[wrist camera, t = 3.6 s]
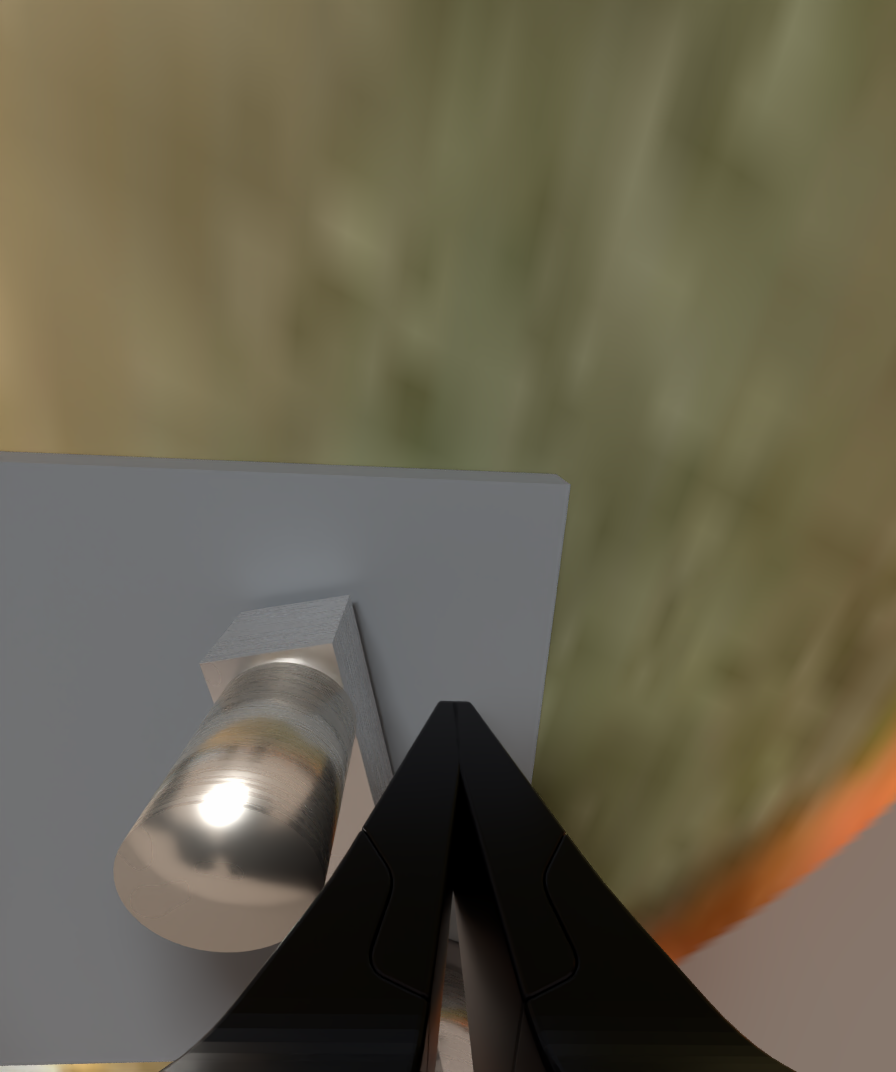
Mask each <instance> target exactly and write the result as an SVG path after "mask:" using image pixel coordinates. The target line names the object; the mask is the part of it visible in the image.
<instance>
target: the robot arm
mask: <svg viewBox="0 0 896 1072" xmlns="http://www.w3.org/2000/svg"><path fill="white" fill-rule="evenodd" d="M453 893H454V902H455V911H456V920H457V929H458V938H459V947H460V956H461V965H462V974H463V983H464V992H465V1000H466V1009H467V1018H468V1027H469V1036H470V1045H471V1054H472V1063H473V1072H796V1071H794V1070H792V1069H791V1068H789V1067H787V1066H785V1065H784V1064H782V1063H780V1062H779V1061H777V1060H775V1059H773V1058H772V1057H771V1056H769V1055H768V1054H767V1053H765V1052H764V1051H762V1050H761V1049H760V1048H758V1047H757V1046H756V1045H754V1044H753V1043H752V1042H751V1041H750V1040H748V1039H747V1038H746V1037H745V1036H744V1035H742V1034H741V1033H740V1032H739V1031H738V1030H737V1029H736V1028H735V1027H734V1026H733V1025H732V1024H731V1023H730V1022H728V1021H727V1020H726V1019H725V1018H724V1017H723V1016H722V1015H721V1014H720V1012H718V1010H717V1009H716V1008H715V1007H714V1006H713V1005H712V1004H711V1003H710V1002H709V1001H708V1000H707V999H706V997H705V996H704V995H703V994H702V993H701V992H700V991H699V990H698V989H697V987H696V986H695V985H694V984H693V983H692V982H691V981H690V980H689V978H687V976H686V975H685V974H684V973H683V972H682V971H681V970H680V968H679V967H678V966H677V965H676V964H675V963H674V962H673V961H672V959H671V958H670V957H669V956H668V955H667V954H666V953H665V952H664V951H663V949H662V948H661V947H660V946H659V945H658V944H657V943H656V942H655V940H654V939H653V938H652V937H651V936H650V935H649V934H648V933H647V932H646V930H645V929H644V928H643V927H642V926H641V925H640V924H639V923H638V921H637V920H636V919H635V918H634V917H633V916H632V915H631V914H630V912H629V911H628V910H627V909H626V908H625V907H624V905H623V904H622V903H621V902H620V901H619V900H618V898H617V897H616V896H615V895H614V894H613V893H612V891H611V890H610V889H609V888H608V887H607V886H606V884H605V883H604V882H603V881H602V879H601V878H600V877H599V875H598V874H597V873H596V872H595V870H594V869H593V868H592V866H591V865H590V864H589V863H588V861H587V860H586V859H585V857H584V856H583V855H582V853H581V852H580V851H579V849H578V848H577V847H576V845H575V844H574V842H573V841H572V840H571V838H570V837H569V836H568V835H565V830H564V829H563V828H562V826H561V825H560V824H559V822H558V821H557V819H556V818H555V817H554V815H553V814H552V813H551V811H550V810H549V809H548V807H547V806H546V804H545V803H544V802H543V800H542V799H541V798H540V796H539V795H538V793H537V792H536V791H535V789H534V788H533V787H532V785H531V784H530V783H529V781H528V780H527V778H526V777H525V776H524V774H523V773H522V772H521V770H520V769H519V767H518V766H517V765H516V763H515V762H514V761H513V759H512V758H511V757H510V755H509V754H508V752H507V751H506V750H505V748H504V747H503V746H502V744H501V743H500V741H499V740H498V739H497V737H496V736H495V735H494V733H493V732H492V731H491V729H490V728H489V726H488V725H487V724H486V722H485V721H484V720H483V718H482V717H481V716H480V714H479V713H478V711H477V710H476V709H475V707H474V706H473V705H472V703H471V702H469V701H439V702H438V703H437V705H436V707H435V708H434V710H433V712H432V713H431V715H430V716H429V718H428V720H427V721H426V723H425V725H424V726H423V728H422V730H421V731H420V733H419V735H418V736H417V738H416V740H415V741H414V743H413V744H412V746H411V748H410V749H409V751H408V753H407V754H406V756H405V758H404V759H403V761H402V763H401V764H400V766H399V768H398V769H397V771H396V772H395V774H394V776H393V777H392V779H391V781H390V782H389V784H388V786H387V787H386V789H385V791H384V792H383V794H382V796H381V797H380V799H379V800H378V802H377V804H376V805H375V807H374V809H373V810H372V812H371V814H370V815H369V817H368V819H367V820H366V822H365V824H364V825H363V827H362V831H360V832H359V833H358V835H357V836H356V838H355V840H354V841H353V843H352V845H351V846H350V848H349V850H348V851H347V853H346V854H345V856H344V857H343V859H342V860H341V862H340V863H339V865H338V866H337V868H336V869H335V871H334V873H333V874H332V876H331V877H330V879H329V880H328V881H327V883H326V884H325V886H324V887H323V888H322V890H321V891H320V892H319V894H318V895H317V896H316V898H315V899H314V900H313V902H312V903H311V904H310V906H309V907H308V908H307V910H306V911H305V912H304V914H303V915H302V916H301V918H300V919H299V920H298V921H297V923H296V924H295V925H294V927H293V928H292V929H291V930H290V932H289V933H288V934H287V935H286V937H285V938H284V939H283V941H282V942H281V943H280V944H279V946H278V947H277V948H276V950H275V951H274V952H273V953H272V955H271V956H270V957H269V958H268V960H267V961H266V962H265V964H264V965H263V966H262V967H261V969H260V970H259V971H258V973H257V974H256V975H255V976H254V978H253V979H252V980H251V982H250V983H249V984H248V985H247V987H246V988H245V989H244V990H243V992H242V993H241V994H240V996H239V997H238V998H237V999H236V1001H235V1002H234V1003H233V1004H232V1006H231V1007H230V1008H229V1009H228V1010H227V1012H226V1013H225V1014H224V1015H223V1016H222V1018H221V1019H220V1020H219V1021H218V1022H217V1023H216V1024H215V1025H214V1026H213V1027H212V1029H210V1030H209V1031H208V1032H207V1033H206V1034H205V1035H204V1036H203V1037H202V1038H201V1039H200V1040H199V1041H198V1042H197V1043H196V1044H195V1045H194V1046H193V1047H191V1048H190V1049H189V1050H188V1051H187V1052H186V1053H184V1054H183V1055H182V1056H181V1057H179V1058H178V1059H177V1060H175V1061H174V1062H172V1063H171V1064H169V1065H168V1066H167V1067H165V1068H164V1069H162V1070H161V1071H159V1072H435V1067H436V1057H437V1047H438V1037H439V1027H440V1017H441V1007H442V997H443V987H444V977H445V967H446V957H447V947H448V937H449V927H450V917H451V907H452V897H453Z"/></svg>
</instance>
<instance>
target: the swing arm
mask: <svg viewBox="0 0 896 1072" xmlns="http://www.w3.org/2000/svg"><path fill="white" fill-rule="evenodd" d="M199 664H200V667H201V670H202V672H203V675H204V678H205V681H206V683H207V686H208V689H209V691H210V694H211V697H212V700H213V702H214V705H213V707H212V708H211V710H210V711H209V713H208V714H207V716H206V717H205V719H204V720H203V722H202V723H201V725H200V726H199V728H198V729H197V731H196V732H195V734H194V735H193V737H192V738H191V740H190V741H189V743H188V744H187V746H186V747H185V749H184V750H183V752H182V753H181V755H180V756H179V758H178V759H177V761H176V762H175V764H174V765H173V767H172V768H171V770H170V771H169V773H168V774H167V776H166V777H165V779H164V780H163V782H162V783H161V785H160V786H159V788H158V789H157V791H156V793H155V794H154V796H153V797H152V799H151V800H150V802H149V803H148V805H147V806H146V808H145V809H144V811H143V812H142V814H141V815H140V817H139V818H138V820H137V821H136V823H135V824H134V826H133V827H132V829H131V830H130V832H129V833H128V835H127V836H126V838H125V839H124V841H123V842H122V844H121V846H120V848H119V849H118V852H117V855H116V857H115V861H114V868H113V874H114V882H115V887H116V890H117V892H118V895H119V897H120V899H121V901H122V902H123V904H124V905H125V907H126V908H127V910H128V911H129V912H130V913H131V914H132V915H133V917H135V918H136V919H137V920H138V921H139V922H140V923H141V924H142V925H144V926H145V927H147V928H148V929H149V930H151V931H152V932H154V933H156V934H157V935H159V936H161V937H163V938H165V939H167V940H170V941H172V942H174V943H177V944H180V945H183V946H186V947H190V948H194V949H198V950H204V951H211V952H244V951H251V950H256V949H261V948H265V947H268V946H271V945H274V944H277V943H279V942H281V941H283V939H284V938H285V937H286V935H287V934H288V933H289V932H290V930H291V929H292V928H293V927H294V925H295V924H296V923H297V921H298V920H299V919H300V918H301V916H302V915H303V914H304V912H305V911H306V910H307V908H308V907H309V906H310V904H311V903H312V902H313V900H314V899H315V898H316V896H317V895H318V894H319V892H320V891H321V890H322V888H323V887H324V886H325V884H326V883H327V881H328V880H329V879H330V877H331V876H332V874H333V873H334V871H335V869H336V868H337V866H338V865H339V863H340V862H341V860H342V859H343V857H344V856H345V854H346V853H347V851H348V850H349V848H350V846H351V845H352V843H353V841H354V840H355V838H356V836H357V835H358V833H359V832H360V831H362V827H363V825H364V824H365V822H366V820H367V819H368V817H369V815H370V814H371V812H372V810H373V809H374V807H375V805H376V804H377V802H378V800H379V799H380V797H381V796H382V794H383V792H384V791H385V789H386V787H387V786H388V784H389V782H390V781H391V779H392V777H393V774H392V770H391V766H390V761H389V757H388V753H387V749H386V745H385V740H384V736H383V732H382V728H381V724H380V720H379V715H378V711H377V707H376V703H375V699H374V694H373V690H372V686H371V682H370V678H369V673H368V669H367V665H366V661H365V657H364V652H363V648H362V644H361V640H360V636H359V631H358V627H357V623H356V619H355V615H354V610H353V606H352V602H351V598H350V595H346V596H339V597H333V598H326V599H320V600H313V601H307V602H301V603H294V604H288V605H281V606H275V607H268V608H262V609H255V610H249V611H242V612H241V613H240V614H239V615H238V617H237V618H236V619H235V620H234V621H233V623H232V624H231V625H230V626H229V628H228V629H227V630H226V631H225V633H224V634H223V635H222V636H221V638H220V639H219V640H218V641H217V642H216V644H215V645H214V646H213V647H212V649H211V650H210V651H209V652H208V654H207V655H206V656H205V657H204V658H203V660H202V661H201V662H200V663H199ZM435 1072H473V1063H472V1054H471V1045H470V1036H469V1027H468V1018H467V1009H466V1000H465V992H464V983H463V975H462V974H460V973H458V972H456V971H453V970H450V969H448V968H445V977H444V987H443V997H442V1007H441V1017H440V1027H439V1037H438V1047H437V1057H436V1067H435Z"/></svg>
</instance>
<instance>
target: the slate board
mask: <svg viewBox="0 0 896 1072" xmlns="http://www.w3.org/2000/svg"><path fill="white" fill-rule="evenodd" d="M569 493H570V484H569V483H568V482H566V481H565V480H563V479H562V478H561V477H559V476H558V475H557V474H539V473H515V472H490V471H466V470H442V469H417V468H393V467H369V466H344V465H320V464H296V463H271V462H247V461H223V460H198V459H174V458H150V457H125V456H101V455H77V454H53V453H28V452H4V451H0V1066H8V1065H48V1064H87V1063H127V1062H166V1061H175V1060H177V1059H178V1058H179V1057H181V1056H182V1055H183V1054H184V1053H186V1052H187V1051H188V1050H189V1049H190V1048H191V1047H193V1046H194V1045H195V1044H196V1043H197V1042H198V1041H199V1040H200V1039H201V1038H202V1037H203V1036H204V1035H205V1034H206V1033H207V1032H208V1031H209V1030H210V1029H212V1027H213V1026H214V1025H215V1024H216V1023H217V1022H218V1021H219V1020H220V1019H221V1018H222V1016H223V1015H224V1014H225V1013H226V1012H227V1010H228V1009H229V1008H230V1007H231V1006H232V1004H233V1003H234V1002H235V1001H236V999H237V998H238V997H239V996H240V994H241V993H242V992H243V990H244V989H245V988H246V987H247V985H248V984H249V983H250V982H251V980H252V979H253V978H254V976H255V975H256V974H257V973H258V971H259V970H260V969H261V967H262V966H263V965H264V964H265V962H266V961H267V960H268V958H269V957H270V956H271V955H272V953H273V952H274V951H275V950H276V948H277V947H278V946H279V944H280V943H281V942H282V941H281V942H279V943H277V944H274V945H271V946H268V947H265V948H261V949H256V950H251V951H244V952H211V951H204V950H198V949H194V948H190V947H186V946H183V945H180V944H177V943H174V942H172V941H170V940H167V939H165V938H163V937H161V936H159V935H157V934H156V933H154V932H152V931H151V930H149V929H148V928H147V927H145V926H144V925H142V924H141V923H140V922H139V921H138V920H137V919H136V918H135V917H133V915H132V914H131V913H130V912H129V911H128V910H127V908H126V907H125V905H124V904H123V902H122V901H121V899H120V897H119V895H118V892H117V890H116V887H115V882H114V874H113V868H114V861H115V857H116V855H117V852H118V849H119V848H120V846H121V844H122V842H123V841H124V839H125V838H126V836H127V835H128V833H129V832H130V830H131V829H132V827H133V826H134V824H135V823H136V821H137V820H138V818H139V817H140V815H141V814H142V812H143V811H144V809H145V808H146V806H147V805H148V803H149V802H150V800H151V799H152V797H153V796H154V794H155V793H156V791H157V789H158V788H159V786H160V785H161V783H162V782H163V780H164V779H165V777H166V776H167V774H168V773H169V771H170V770H171V768H172V767H173V765H174V764H175V762H176V761H177V759H178V758H179V756H180V755H181V753H182V752H183V750H184V749H185V747H186V746H187V744H188V743H189V741H190V740H191V738H192V737H193V735H194V734H195V732H196V731H197V729H198V728H199V726H200V725H201V723H202V722H203V720H204V719H205V717H206V716H207V714H208V713H209V711H210V710H211V708H212V707H213V705H214V702H213V700H212V697H211V694H210V691H209V689H208V686H207V683H206V681H205V678H204V675H203V672H202V670H201V667H200V664H199V663H200V662H201V661H202V660H203V658H204V657H205V656H206V655H207V654H208V652H209V651H210V650H211V649H212V647H213V646H214V645H215V644H216V642H217V641H218V640H219V639H220V638H221V636H222V635H223V634H224V633H225V631H226V630H227V629H228V628H229V626H230V625H231V624H232V623H233V621H234V620H235V619H236V618H237V617H238V615H239V614H240V613H241V612H242V611H249V610H255V609H262V608H268V607H275V606H281V605H288V604H294V603H301V602H307V601H313V600H320V599H326V598H333V597H339V596H346V595H350V598H351V602H352V606H353V610H354V615H355V619H356V623H357V627H358V631H359V636H360V640H361V644H362V648H363V652H364V657H365V661H366V665H367V669H368V673H369V678H370V682H371V686H372V690H373V694H374V699H375V703H376V707H377V711H378V715H379V720H380V724H381V728H382V732H383V736H384V740H385V745H386V749H387V753H388V757H389V761H390V766H391V770H392V774H393V776H394V774H395V772H396V771H397V769H398V768H399V766H400V764H401V763H402V761H403V759H404V758H405V756H406V754H407V753H408V751H409V749H410V748H411V746H412V744H413V743H414V741H415V740H416V738H417V736H418V735H419V733H420V731H421V730H422V728H423V726H424V725H425V723H426V721H427V720H428V718H429V716H430V715H431V713H432V712H433V710H434V708H435V707H436V705H437V703H438V702H439V701H469V702H471V703H472V705H473V706H474V707H475V709H476V710H477V711H478V713H479V714H480V716H481V717H482V718H483V720H484V721H485V722H486V724H487V725H488V726H489V728H490V729H491V731H492V732H493V733H494V735H495V736H496V737H497V739H498V740H499V741H500V743H501V744H502V746H503V747H504V748H505V750H506V751H507V752H508V754H509V755H510V757H511V758H512V759H513V761H514V762H515V763H516V765H517V766H518V767H519V769H520V770H521V772H522V773H523V774H524V776H525V777H526V778H527V780H528V781H529V783H530V784H531V783H532V775H533V767H534V760H535V752H536V745H537V737H538V729H539V722H540V714H541V706H542V699H543V691H544V683H545V676H546V668H547V661H548V653H549V645H550V638H551V630H552V622H553V615H554V607H555V599H556V592H557V584H558V577H559V569H560V561H561V554H562V546H563V538H564V531H565V523H566V516H567V508H568V500H569ZM445 968H448V969H450V970H453V971H456V972H458V973H460V974H462V965H461V956H460V947H459V938H458V929H457V920H456V911H455V902H454V893H453V897H452V907H451V917H450V927H449V937H448V947H447V957H446V967H445ZM462 975H463V974H462Z"/></svg>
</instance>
